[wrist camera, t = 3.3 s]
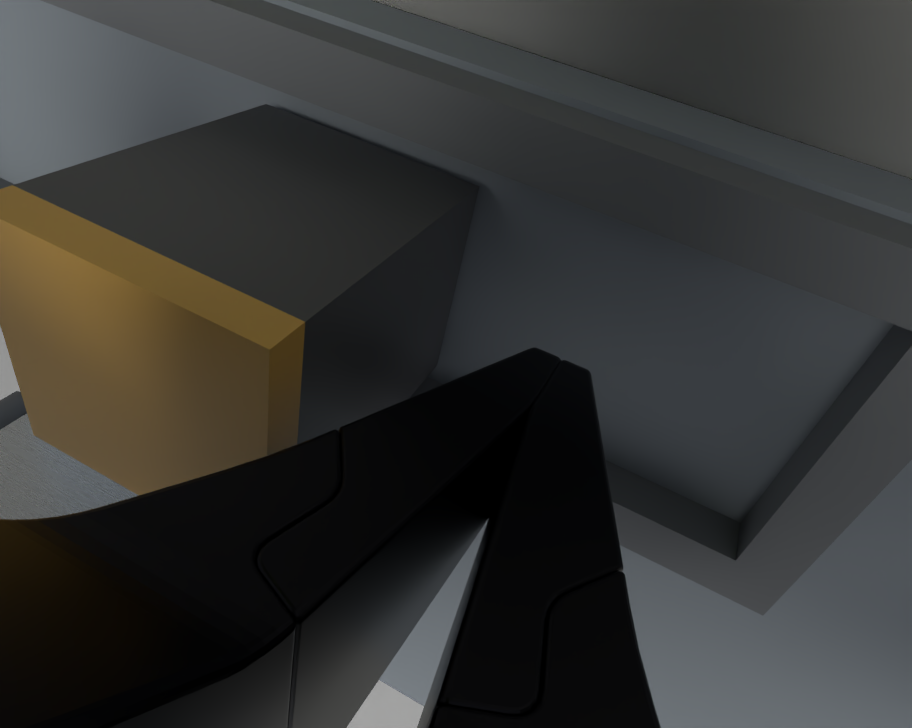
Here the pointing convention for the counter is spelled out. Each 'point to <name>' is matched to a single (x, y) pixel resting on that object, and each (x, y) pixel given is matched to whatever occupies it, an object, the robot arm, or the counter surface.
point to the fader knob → (225, 293)
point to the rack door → (47, 478)
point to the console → (596, 315)
